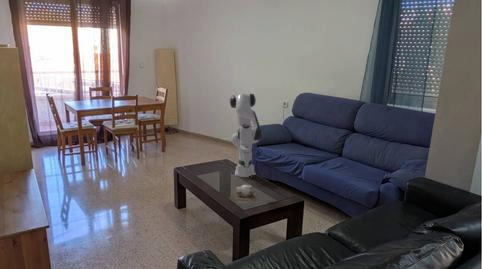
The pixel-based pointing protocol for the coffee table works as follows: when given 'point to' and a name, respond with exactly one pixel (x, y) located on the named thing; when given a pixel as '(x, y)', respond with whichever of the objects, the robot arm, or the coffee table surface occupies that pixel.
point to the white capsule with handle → (244, 190)
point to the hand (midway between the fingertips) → (246, 165)
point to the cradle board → (242, 199)
